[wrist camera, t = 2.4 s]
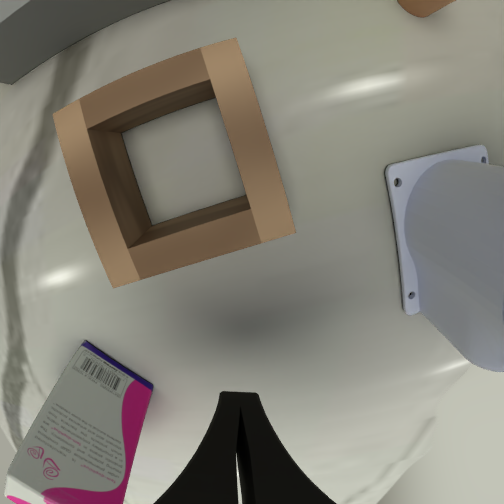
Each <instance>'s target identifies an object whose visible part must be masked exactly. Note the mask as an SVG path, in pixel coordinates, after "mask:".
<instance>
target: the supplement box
mask: <svg viewBox="0 0 504 504" xmlns="http://www.w3.org/2000/svg"><path fill="white" fill-rule="evenodd" d="M152 391H153V385H152V384H151V383H149V382H147V381H146V380H144V379H142V378H141V377H139V376H137V375H136V374H134V373H133V372H131V371H129V370H128V369H126V368H125V367H123V366H122V365H120V364H118V363H117V362H115V361H114V360H112V359H111V358H109V357H108V356H106V355H105V354H104V353H102V352H101V351H99V350H98V349H96V348H95V347H94V346H92V345H91V344H89V343H88V342H87V341H84V342H83V343H82V344H81V346H80V347H79V349H78V350H77V352H76V353H75V355H74V356H73V358H72V359H71V361H70V362H69V364H68V365H67V367H66V368H65V370H64V372H63V373H62V375H61V376H60V378H59V380H58V381H57V383H56V385H55V386H54V388H53V390H52V391H51V393H50V395H49V396H48V398H47V400H46V401H45V403H44V405H43V406H42V408H41V410H40V412H39V413H38V415H37V417H36V418H35V420H34V422H33V424H32V426H31V427H30V429H29V431H28V433H27V435H26V436H25V438H24V440H23V442H22V444H21V446H20V448H19V450H18V451H17V453H16V455H15V457H14V459H13V461H12V463H11V465H10V467H9V469H8V472H7V475H6V483H5V493H4V496H6V497H7V498H9V499H10V500H12V501H13V502H15V503H16V504H123V501H124V497H125V492H126V488H127V484H128V480H129V476H130V472H131V468H132V464H133V460H134V456H135V452H136V448H137V445H138V441H139V437H140V433H141V430H142V426H143V422H144V419H145V415H146V412H147V408H148V405H149V401H150V398H151V394H152Z"/></svg>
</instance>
